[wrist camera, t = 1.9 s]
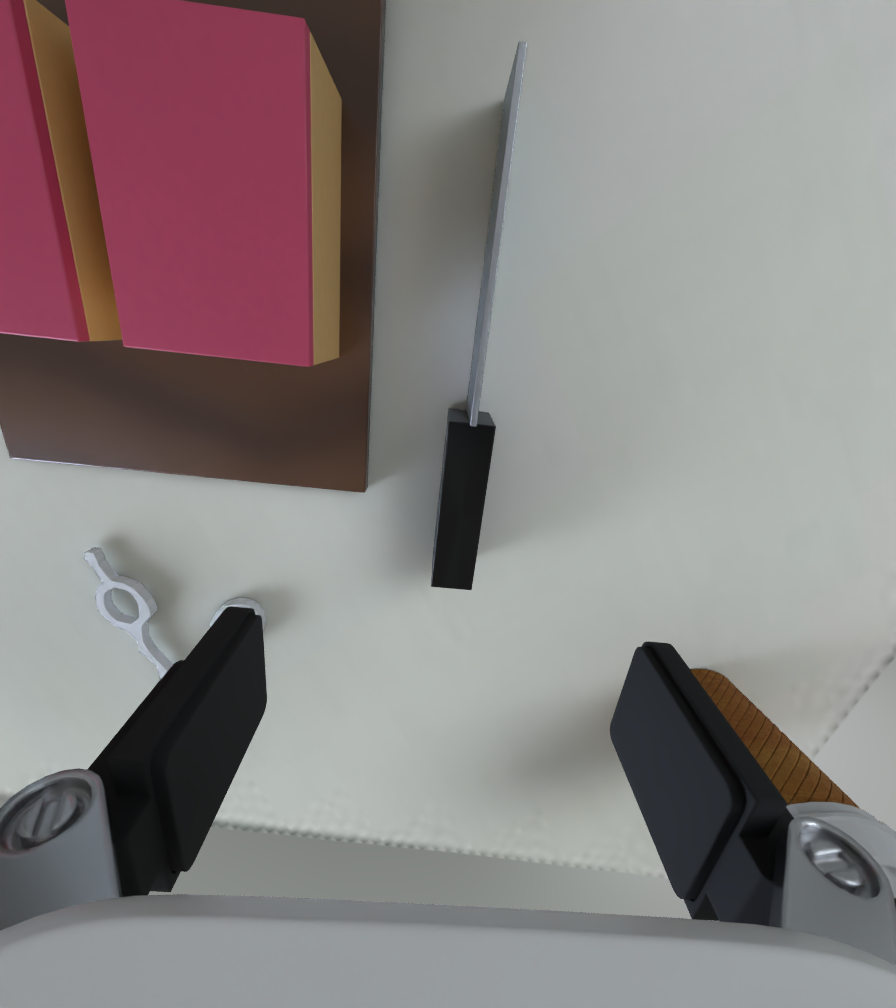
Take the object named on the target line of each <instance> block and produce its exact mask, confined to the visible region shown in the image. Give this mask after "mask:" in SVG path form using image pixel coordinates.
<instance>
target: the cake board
mask: <svg viewBox="0 0 896 1008" xmlns="http://www.w3.org/2000/svg"><path fill="white" fill-rule="evenodd" d="M36 1H37V2H39V3H40V4H41V5H42V6H44V7H45V8H46V9H48V10H49V11H50V12H51V13H53V14H54V15H55V16H56V17H58V18H59V19H60V20H61V21H63V22H64V23H65V24H66V25H68V26H69V22H68V16H67V10H66V4H65V0H36ZM182 1H189V2H196V3H203V4H210V5H217V6H224V7H231V8H238V9H245V10H252V11H259V12H265V13H272V14H279V15H286V16H293V17H300V18H304V19H305V21H306V23H307V25H308V28H309V30H310V32H311V34H312V36H313V38H314V40H315V43H316V45H317V47H318V49H319V51H320V53H321V56H322V58H323V60H324V62H325V64H326V66H327V69H328V71H329V73H330V75H331V77H332V79H333V82H334V84H335V86H336V88H337V90H338V92H339V95H340V97H341V99H342V117H341V221H340V326H339V358H336V359H333V360H330V361H326V362H323V363H320V364H317V365H313V366H310V367H306V366H296V365H287V364H278V363H269V362H260V361H251V360H241V359H232V358H223V357H214V356H205V355H196V354H186V353H177V352H168V351H159V350H150V349H141V348H131V347H125V346H124V345H123V340H107V341H83V342H77V341H68V340H58V339H49V338H40V337H31V336H22V335H13V334H3V333H0V425H1V429H2V432H3V436H4V439H5V443H6V446H7V449H8V453H9V456H10V458H13V459H23V460H33V461H44V462H54V463H64V464H75V465H85V466H95V467H106V468H116V469H126V470H137V471H147V472H157V473H168V474H178V475H188V476H199V477H209V478H219V479H230V480H240V481H250V482H260V483H271V484H281V485H291V486H302V487H312V488H322V489H333V490H343V491H353V492H366V490H367V487H368V463H369V436H370V409H371V383H372V356H373V329H374V303H375V276H376V249H377V223H378V196H379V169H380V143H381V116H382V89H383V63H384V36H385V9H386V0H182Z"/></svg>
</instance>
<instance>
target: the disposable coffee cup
mask: <svg viewBox="0 0 896 1008" xmlns="http://www.w3.org/2000/svg"><path fill="white" fill-rule="evenodd" d="M691 672H692V673H693V674H694V676H695V677H696V679H697V680H698V681H699V683H700V684H701V685H702V687H703V688H704V690H705V691H706V692H707V694H708V695H709V696H710V698H711V699H712V700H713V702H714V703H715V705H716V706H717V707H718V709H719V710H720V711H721V713H722V714H723V716H724V717H725V718H726V720H727V721H728V722H729V724H730V725H731V727H732V728H733V729H734V731H735V732H736V733H737V735H738V736H739V737H740V739H741V740H742V742H743V743H744V744H745V746H746V747H747V748H748V750H749V751H750V753H751V754H752V755H753V757H754V758H755V759H756V761H757V762H758V764H759V765H760V766H761V768H762V769H763V770H764V772H765V773H766V774H767V776H768V777H769V779H770V780H771V781H772V783H773V784H774V785H775V787H776V788H777V790H778V791H779V792H780V794H781V795H782V796H783V798H784V799H785V801H786V802H787V803H788V805H787V806H786V808H787V809H788V810H789V812H790V813H791V815H792V816H793V817H794V819H795V818H797V817H804V816H809V817H813V818H816V819H820V820H823V821H825V822H827V823H829V824H831V825H833V826H835V827H837V828H839V829H840V830H842V831H843V832H845V833H846V834H848V835H849V836H851V837H852V838H853V839H854V840H855V841H857V842H858V843H859V844H860V845H861V846H862V847H864V848H865V849H866V850H867V851H868V852H869V853H870V855H871V856H872V857H873V858H874V859H875V860H876V861H877V862H878V864H879V865H880V866H881V868H882V869H883V871H884V873H885V874H886V876H887V877H888V879H889V882H890V885H891V888H892V890H893V895H894V898H896V832H895V831H893V830H892V829H891V828H890V827H889V826H887V825H886V824H885V823H883V822H880V821H878V820H877V819H876V818H875V817H874V816H872V815H870V814H869V813H867V812H866V811H864V810H862V809H860V808H859V807H858V806H857V805H856V804H855V803H854V802H853V801H852V800H851V799H850V798H849V797H848V796H847V795H846V794H845V793H844V792H843V791H842V790H841V789H840V788H839V787H838V786H837V785H836V784H835V783H833V781H832V780H830V779H829V777H828V776H827V775H826V774H825V773H823V772H822V771H821V770H820V769H819V768H818V767H817V766H816V765H815V764H814V763H813V762H812V761H811V760H810V759H809V758H808V757H807V756H806V755H805V754H804V753H803V752H802V751H801V750H800V749H799V748H798V747H797V746H796V745H795V744H794V743H793V742H792V741H791V740H789V738H788V737H787V736H786V735H785V734H784V733H783V732H781V731H780V730H779V729H778V727H777V726H776V725H775V724H773V723H772V722H771V721H770V719H768V718H767V717H766V716H765V715H764V714H763V713H762V712H761V711H760V710H759V709H758V708H756V706H755V705H754V704H753V703H752V702H751V701H749V699H748V698H747V697H746V696H745V695H744V694H742V692H741V691H739V690H738V689H737V688H736V687H735V686H734V685H733V684H732V683H731V682H730V681H729V679H728V678H726V677H725V676H724V675H722V674H720V673H718V672H715V671H712V670H707V669H692V670H691Z"/></svg>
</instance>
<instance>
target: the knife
mask: <svg viewBox="0 0 896 1008" xmlns="http://www.w3.org/2000/svg"><path fill="white" fill-rule="evenodd" d="M526 50H527V43H526V42H519V43H518V46H517V50H516V54H515V58H514V62H513V66H512V70H511V74H510V77H509V81H508V85H507V89H506V93H505V97H504V102H503V110H502V119H501V127H500V135H499V143H498V152H497V160H496V168H495V176H494V185H493V193H492V201H491V209H490V218H489V226H488V234H487V242H486V250H485V259H484V267H483V275H482V283H481V292H480V300H479V308H478V316H477V325H476V333H475V341H474V349H473V358H472V366H471V374H470V382H469V390H468V399H467V407H466V410H460V409H451V408H449V409H448V416H447V426H446V435H445V445H444V454H443V464H442V473H441V483H440V492H439V502H438V511H437V521H436V530H435V539H434V549H433V561H432V578H431V586H432V587H442V588H454V589H465V590H471V589H472V583H473V576H474V569H475V563H476V556H477V549H478V543H479V536H480V529H481V523H482V516H483V509H484V503H485V496H486V489H487V483H488V476H489V469H490V463H491V456H492V449H493V443H494V436H495V429H496V426H495V424H494V422H493V420H492V418H491V416H490V414H489V413H488V412H479V404H480V397H481V389H482V382H483V374H484V366H485V359H486V351H487V344H488V336H489V329H490V321H491V314H492V306H493V299H494V291H495V283H496V276H497V268H498V261H499V253H500V246H501V238H502V231H503V223H504V216H505V208H506V200H507V193H508V185H509V178H510V170H511V163H512V155H513V148H514V140H515V133H516V125H517V117H518V110H519V102H520V95H521V87H522V80H523V72H524V65H525V57H526Z"/></svg>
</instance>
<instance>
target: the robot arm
mask: <svg viewBox="0 0 896 1008" xmlns="http://www.w3.org/2000/svg"><path fill="white" fill-rule="evenodd" d="M266 702H267V692H266V675H265V658H264V641H263V624H262V617H261V615H255V611H254V609H253V608H244V607H233V606H229V607H227V608H226V609H225V610H224V611H223V612H222V613H221V615H220V616H219V617H218V618H217V620H216V621H215V622H214V624H213V625H212V626H211V627H210V629H209V630H208V631H207V632H206V634H205V635H204V636H203V637H202V639H201V640H200V641H199V643H198V644H197V645H196V646H195V648H194V649H193V650H192V651H191V653H190V654H189V655H188V656H187V658H186V659H185V660H184V661H183V660H180V661H178V662H176V663H175V664H174V665H173V666H172V667H171V668H170V669H169V670H168V671H167V673H166V674H165V675H164V676H163V677H162V679H161V680H160V681H159V682H158V684H157V685H156V686H155V687H154V688H153V690H152V691H151V692H150V693H149V695H148V696H147V697H146V698H145V700H144V701H143V702H142V703H141V704H140V706H139V707H138V708H137V709H136V711H135V712H134V713H133V714H132V716H131V717H130V718H129V719H128V720H127V722H126V723H125V724H124V725H123V727H122V728H121V729H120V730H119V732H118V733H117V734H116V735H115V736H114V738H113V739H112V740H111V741H110V743H109V744H108V745H107V746H106V748H105V749H104V750H103V751H102V752H101V754H100V755H99V756H98V757H97V759H96V760H95V761H94V762H93V763H92V765H91V766H90V767H89V768H88V770H84V769H72V770H64V771H60V772H57V773H54V774H51V775H48V776H45V777H43V778H41V779H40V780H38V781H36V782H34V783H32V784H30V785H28V786H26V787H25V788H24V789H22V790H21V791H19V792H18V793H17V794H15V795H14V796H12V797H11V798H10V799H9V800H8V801H7V802H6V803H5V804H4V805H3V806H2V807H1V808H0V1008H896V898H894V895H893V890H892V888H891V885H890V882H889V879H888V877H887V876H886V874H885V873H884V871H883V869H882V868H881V866H880V865H879V864H878V862H877V861H876V860H875V859H874V858H873V857H872V856H871V855H870V853H869V852H868V851H867V850H866V849H865V848H864V847H862V846H861V845H860V844H859V843H858V842H857V841H855V840H854V839H853V838H852V837H851V836H849V835H848V834H846V833H845V832H843V831H842V830H840V829H839V828H837V827H835V826H833V825H831V824H829V823H827V822H825V821H823V820H820V819H816V818H813V817H809V816H804V817H797V818H795V819H794V817H793V816H792V815H791V813H790V812H789V810H788V809H787V808H786V806H787V805H788V803H787V802H786V801H785V799H784V798H783V796H782V795H781V794H780V792H779V791H778V790H777V788H776V787H775V785H774V784H773V783H772V781H771V780H770V779H769V777H768V776H767V774H766V773H765V772H764V770H763V769H762V768H761V766H760V765H759V764H758V762H757V761H756V759H755V758H754V757H753V755H752V754H751V753H750V751H749V750H748V748H747V747H746V746H745V744H744V743H743V742H742V740H741V739H740V737H739V736H738V735H737V733H736V732H735V731H734V729H733V728H732V727H731V725H730V724H729V722H728V721H727V720H726V718H725V717H724V716H723V714H722V713H721V711H720V710H719V709H718V707H717V706H716V705H715V703H714V702H713V700H712V699H711V698H710V696H709V695H708V694H707V692H706V691H705V690H704V688H703V687H702V685H701V684H700V683H699V681H698V680H697V679H696V677H695V676H694V674H693V673H692V672H691V670H690V669H689V668H688V666H687V665H686V663H685V662H684V661H683V659H682V658H681V657H680V655H679V654H678V653H677V651H676V650H675V648H674V647H673V646H672V645H671V644H668V643H658V642H645V643H644V644H643V645H642V647H638V648H637V649H636V650H635V653H634V656H633V659H632V662H631V665H630V668H629V671H628V674H627V677H626V680H625V683H624V686H623V689H622V692H621V695H620V698H619V701H618V703H617V706H616V709H615V712H614V715H613V718H612V721H611V725H610V735H611V739H612V742H613V745H614V747H615V749H616V752H617V754H618V757H619V759H620V761H621V764H622V766H623V769H624V771H625V774H626V776H627V778H628V781H629V783H630V786H631V788H632V791H633V793H634V795H635V798H636V800H637V803H638V805H639V808H640V810H641V812H642V815H643V817H644V820H645V822H646V825H647V827H648V829H649V832H650V834H651V837H652V839H653V842H654V844H655V846H656V849H657V851H658V854H659V856H660V859H661V861H662V863H663V866H664V868H665V871H666V873H667V876H668V878H669V880H670V883H671V885H672V888H673V890H674V892H675V893H676V895H677V896H678V897H679V898H681V899H684V901H685V904H686V906H687V908H688V911H689V913H690V915H691V918H692V919H683V918H667V917H650V916H632V915H616V914H599V913H583V912H566V911H548V910H530V909H510V908H493V907H474V906H454V905H434V904H414V903H396V902H373V901H353V900H330V899H329V900H328V899H309V898H288V897H264V896H226V895H188V894H177V895H148V894H149V892H150V891H159V892H160V891H161V892H171V890H172V888H173V886H174V884H175V882H176V880H177V878H178V876H179V874H180V872H181V871H184V872H185V871H188V870H189V869H190V867H191V866H192V865H193V862H194V861H195V859H196V857H197V854H198V852H199V850H200V848H201V846H202V844H203V842H204V840H205V838H206V835H207V833H208V831H209V829H210V827H211V825H212V823H213V821H214V819H215V816H216V814H217V812H218V810H219V808H220V806H221V804H222V802H223V799H224V797H225V795H226V793H227V791H228V789H229V787H230V785H231V782H232V780H233V778H234V776H235V774H236V772H237V770H238V768H239V765H240V763H241V761H242V759H243V757H244V755H245V753H246V751H247V748H248V746H249V744H250V742H251V740H252V738H253V736H254V734H255V731H256V729H257V727H258V725H259V723H260V721H261V719H262V717H263V714H264V711H265V708H266ZM708 920H713V921H708Z"/></svg>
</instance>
